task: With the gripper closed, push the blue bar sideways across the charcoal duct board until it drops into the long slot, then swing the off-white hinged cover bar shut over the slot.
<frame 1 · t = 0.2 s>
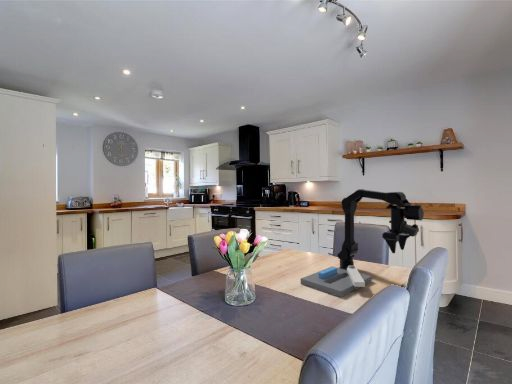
hand: (398, 251, 129), 14 cm above the table, tool pointing down, fingers open, 9 cm apart
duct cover: (354, 275, 128), point 4 cm above the table, hinge at 40.0°
duct board: (336, 282, 130), on the table
blue bar: (328, 275, 134), point 2 cm above the table, touching duct board
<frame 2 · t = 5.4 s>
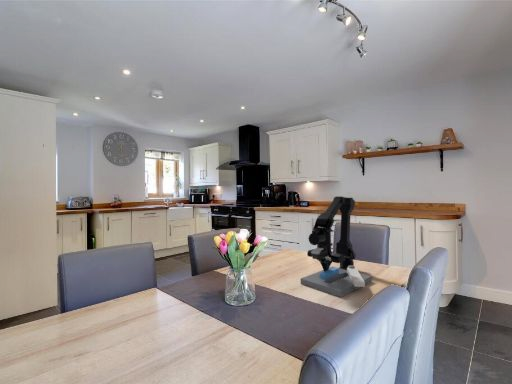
hand: (325, 272, 135), 3 cm above the table, tool pointing down, fingers closed
blue bar: (329, 275, 133), point 2 cm above the table, touching duct board, gripper
everything else where it was.
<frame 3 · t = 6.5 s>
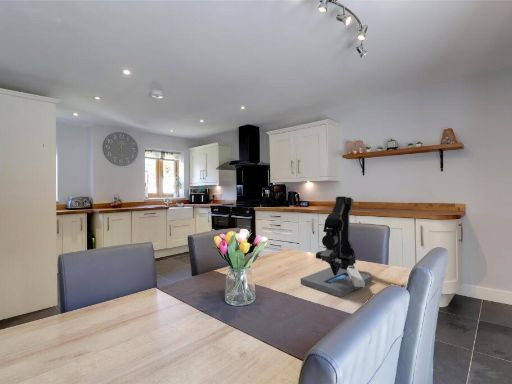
hand: (335, 275, 130), 3 cm above the table, tool pointing down, fingers closed
blue bar: (335, 280, 131), point 1 cm above the table, tilted 90°
everything else where it was.
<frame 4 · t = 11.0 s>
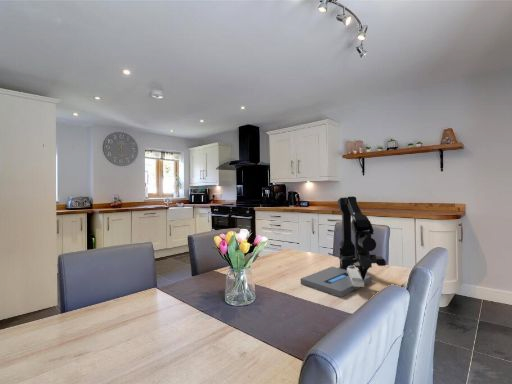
hand: (363, 279, 124), 3 cm above the table, tool pointing down, fingers closed
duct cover: (354, 275, 128), point 4 cm above the table, hinge at 39.0°, touching gripper
everything else where it was.
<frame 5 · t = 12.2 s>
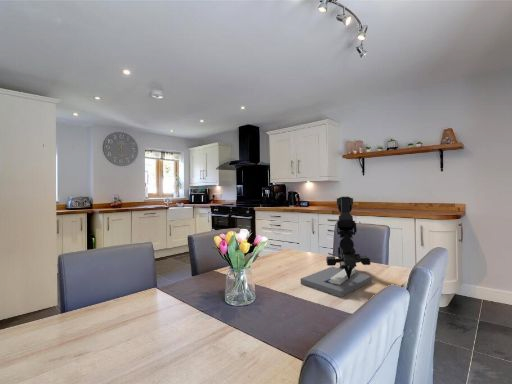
hand: (348, 278, 125), 3 cm above the table, tool pointing down, fingers closed
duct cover: (344, 274, 130), point 4 cm above the table, hinge at 10.8°, touching gripper
everything else where it was.
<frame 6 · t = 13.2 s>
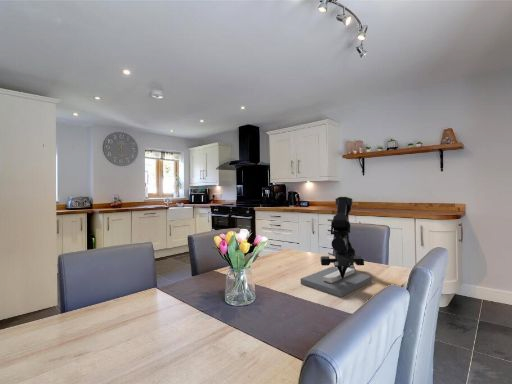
hand: (342, 279, 125), 3 cm above the table, tool pointing down, fingers closed
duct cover: (340, 273, 131), point 4 cm above the table, hinge at 0.4°, touching gripper
everything else where it was.
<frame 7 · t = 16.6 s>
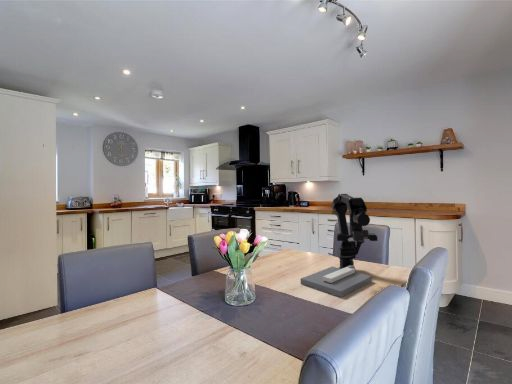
hand: (356, 254, 134), 12 cm above the table, tool pointing down, fingers closed
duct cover: (340, 273, 131), point 4 cm above the table, hinge at -0.1°
everything else where it was.
at the end: blue bar inside the target area (1.8 cm from its centre), point 0.8 cm above the table; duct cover at +0° (first picture: +40°) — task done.
